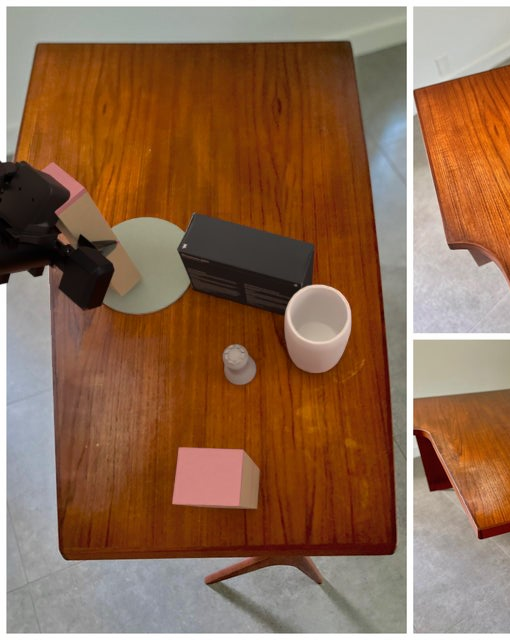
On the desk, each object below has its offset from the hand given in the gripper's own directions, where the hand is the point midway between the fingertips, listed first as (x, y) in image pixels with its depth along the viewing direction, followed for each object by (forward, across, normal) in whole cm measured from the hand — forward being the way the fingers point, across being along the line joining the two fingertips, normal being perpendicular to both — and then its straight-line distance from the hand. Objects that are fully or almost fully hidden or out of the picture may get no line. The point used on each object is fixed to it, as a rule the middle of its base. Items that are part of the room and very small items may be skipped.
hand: (101, 232), depth 67 cm
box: (+17, -15, +2) cm, 23 cm away
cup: (+16, -28, +3) cm, 32 cm away
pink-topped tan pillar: (+7, 0, +9) cm, 11 cm away
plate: (+11, 0, +8) cm, 14 cm away
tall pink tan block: (+1, -32, +18) cm, 37 cm away
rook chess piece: (+10, -22, +10) cm, 26 cm away
